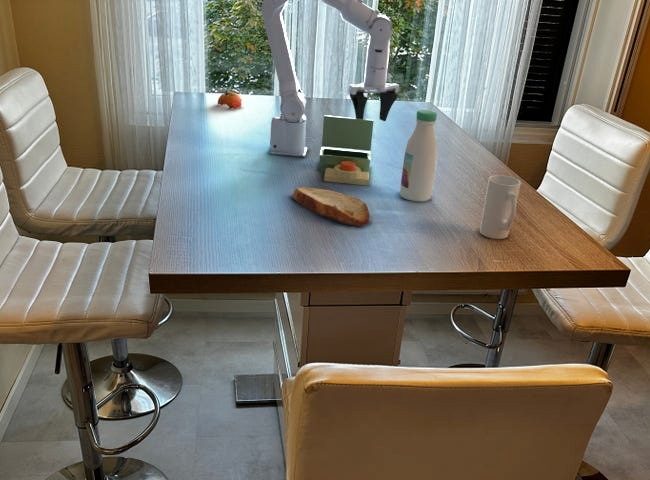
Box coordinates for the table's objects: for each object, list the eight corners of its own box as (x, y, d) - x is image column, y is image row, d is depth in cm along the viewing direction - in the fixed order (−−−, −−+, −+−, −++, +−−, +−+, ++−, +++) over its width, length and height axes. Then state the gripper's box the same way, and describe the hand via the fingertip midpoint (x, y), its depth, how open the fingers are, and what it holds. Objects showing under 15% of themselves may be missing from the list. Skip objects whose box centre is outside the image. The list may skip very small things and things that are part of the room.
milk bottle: (434, 195, 172) (447, 111, 162) (426, 204, 166) (439, 118, 155) (404, 189, 174) (415, 105, 163) (395, 198, 168) (406, 112, 157)
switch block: (323, 182, 173) (324, 170, 172) (325, 173, 179) (326, 161, 178) (368, 186, 173) (369, 174, 172) (368, 177, 180) (369, 165, 178)
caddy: (368, 175, 181) (370, 159, 179) (318, 170, 181) (319, 154, 178) (368, 167, 187) (370, 152, 185) (320, 162, 187) (321, 147, 184)
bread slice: (293, 193, 164) (294, 177, 162) (369, 200, 165) (371, 185, 163) (284, 221, 149) (285, 204, 147) (368, 229, 150) (370, 212, 148)
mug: (473, 227, 156) (483, 174, 149) (500, 227, 158) (512, 175, 151) (492, 246, 148) (504, 191, 141) (521, 245, 149) (533, 191, 143)
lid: (373, 120, 181) (373, 120, 181) (323, 115, 181) (324, 115, 181) (370, 150, 184) (370, 150, 185) (321, 146, 184) (321, 145, 184)
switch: (339, 171, 173) (340, 164, 172) (340, 167, 176) (341, 160, 175) (354, 173, 173) (355, 166, 172) (354, 168, 176) (355, 161, 175)
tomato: (217, 97, 232) (231, 82, 228) (233, 112, 235) (247, 98, 231) (212, 106, 226) (227, 91, 222) (229, 122, 229) (243, 107, 225)
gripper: (361, 70, 174) (356, 126, 181) (408, 69, 181) (401, 123, 189) (346, 65, 179) (342, 119, 186) (392, 64, 186) (386, 116, 193)
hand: (371, 121), depth 188 cm, fingers open, 7 cm apart
